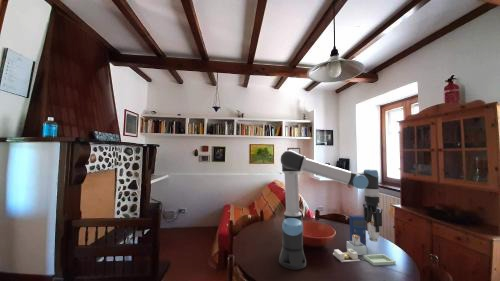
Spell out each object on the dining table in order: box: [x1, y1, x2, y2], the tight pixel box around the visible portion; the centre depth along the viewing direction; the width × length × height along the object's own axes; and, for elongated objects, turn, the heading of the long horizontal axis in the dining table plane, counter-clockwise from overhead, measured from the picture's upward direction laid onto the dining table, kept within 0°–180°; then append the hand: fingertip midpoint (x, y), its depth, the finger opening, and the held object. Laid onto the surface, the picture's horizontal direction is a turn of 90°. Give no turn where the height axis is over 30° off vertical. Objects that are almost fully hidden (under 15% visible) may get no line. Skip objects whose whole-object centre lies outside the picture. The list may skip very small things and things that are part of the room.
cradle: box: [332, 248, 361, 263], centre depth 124 cm, size 12×10×5 cm
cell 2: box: [368, 220, 379, 243], centre depth 120 cm, size 4×4×11 cm
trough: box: [362, 253, 397, 266], centre depth 120 cm, size 14×9×2 cm, turn 97°
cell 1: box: [352, 234, 360, 246], centre depth 131 cm, size 4×4×11 cm
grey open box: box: [346, 240, 368, 256], centre depth 131 cm, size 8×8×6 cm
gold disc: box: [344, 254, 350, 260], centre depth 123 cm, size 4×4×2 cm
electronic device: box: [348, 214, 367, 246], centre depth 142 cm, size 10×5×20 cm, turn 89°
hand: (373, 235), depth 120 cm, fingers closed on cell 2, 4 cm apart
